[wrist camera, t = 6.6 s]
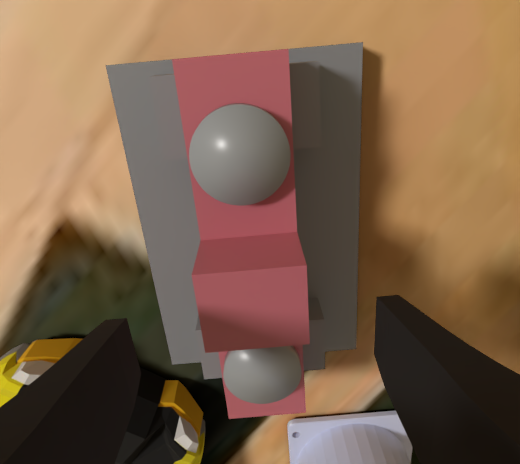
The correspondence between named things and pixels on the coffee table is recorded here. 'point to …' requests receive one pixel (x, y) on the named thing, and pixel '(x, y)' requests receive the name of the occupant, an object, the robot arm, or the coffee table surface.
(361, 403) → the coffee table surface
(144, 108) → the display stand
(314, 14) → the coffee table surface
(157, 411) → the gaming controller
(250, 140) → the frame bar
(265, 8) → the coffee table surface
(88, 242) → the coffee table surface
